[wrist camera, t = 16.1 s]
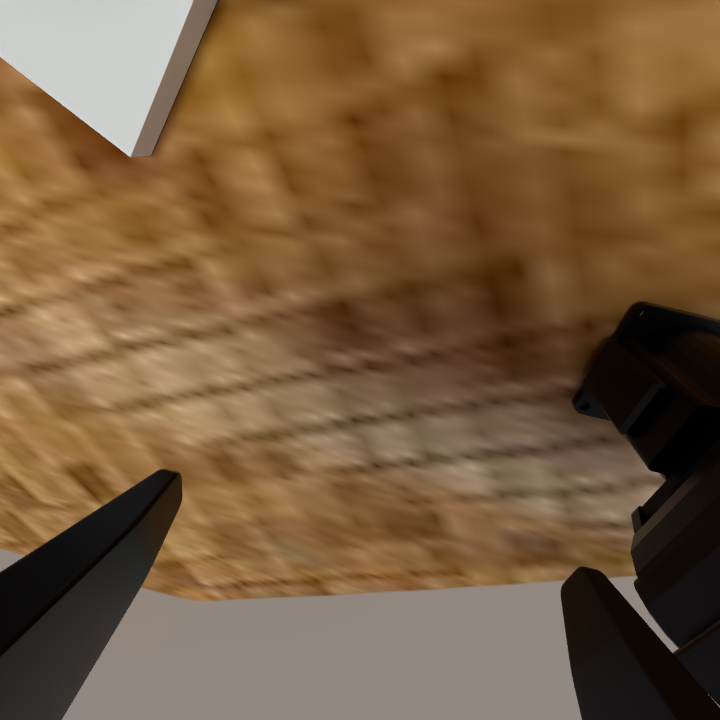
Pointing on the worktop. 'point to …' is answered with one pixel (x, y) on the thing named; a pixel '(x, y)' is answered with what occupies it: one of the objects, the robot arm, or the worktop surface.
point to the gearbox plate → (107, 59)
